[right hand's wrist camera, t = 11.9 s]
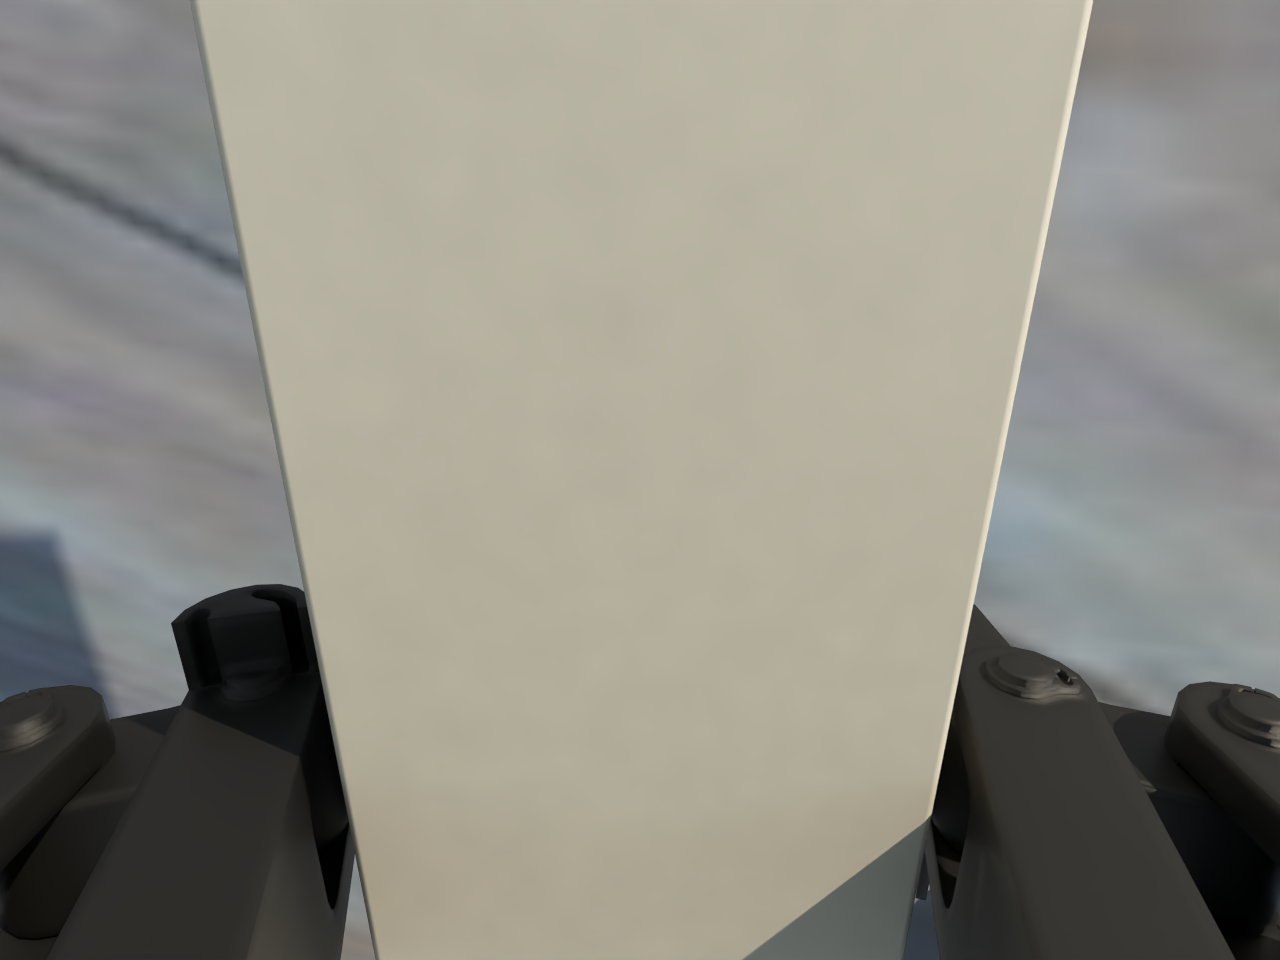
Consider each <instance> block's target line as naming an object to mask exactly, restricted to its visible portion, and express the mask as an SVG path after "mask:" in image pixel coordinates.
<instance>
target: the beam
mask: <svg viewBox="0 0 1280 960" xmlns="http://www.w3.org/2000/svg"><path fill="white" fill-rule="evenodd" d="M1092 4H1093V0H190V5H191V10H192V15H193V20H194V25H195V30H196V36H197V41H198V46H199V51H200V56H201V61H202V66H203V72H204V77H205V82H206V87H207V92H208V97H209V103H210V108H211V113H212V118H213V123H214V128H215V134H216V139H217V144H218V149H219V154H220V159H221V164H222V170H223V175H224V180H225V185H226V190H227V195H228V201H229V206H230V211H231V216H232V221H233V226H234V231H235V237H236V242H237V247H238V252H239V257H240V262H241V268H242V273H243V278H244V283H245V288H246V293H247V299H248V304H249V309H250V314H251V319H252V324H253V329H254V335H255V340H256V345H257V350H258V355H259V360H260V366H261V371H262V376H263V381H264V386H265V391H266V396H267V402H268V407H269V412H270V417H271V422H272V427H273V433H274V438H275V443H276V448H277V453H278V458H279V463H280V469H281V474H282V479H283V484H284V489H285V494H286V500H287V505H288V510H289V515H290V520H291V525H292V531H293V536H294V541H295V546H296V551H297V556H298V561H299V567H300V572H301V577H302V582H303V587H304V592H305V598H306V603H307V608H308V613H309V618H310V623H311V628H312V634H313V639H314V644H315V649H316V654H317V659H318V665H319V670H320V675H321V680H322V685H323V690H324V695H325V701H326V706H327V711H328V716H329V721H330V726H331V732H332V737H333V742H334V747H335V752H336V757H337V763H338V768H339V773H340V778H341V783H342V788H343V793H344V799H345V804H346V809H347V814H348V819H349V824H350V830H351V835H352V840H353V845H354V850H355V855H356V860H357V866H358V871H359V876H360V881H361V886H362V891H363V897H364V902H365V907H366V912H367V917H368V922H369V928H370V933H371V938H372V943H373V948H374V953H375V958H376V960H903V956H904V951H905V946H906V941H907V936H908V931H909V926H910V920H911V915H912V910H913V905H914V900H915V895H916V890H917V885H918V880H919V875H920V870H921V865H922V860H923V855H924V850H925V845H926V840H927V835H928V830H929V825H930V820H931V815H932V810H933V805H934V800H935V795H936V790H937V784H938V779H939V774H940V769H941V764H942V759H943V754H944V749H945V744H946V739H947V734H948V729H949V724H950V719H951V714H952V709H953V704H954V699H955V694H956V689H957V684H958V679H959V674H960V669H961V664H962V659H963V654H964V648H965V643H966V638H967V633H968V628H969V623H970V618H971V613H972V608H973V603H974V598H975V593H976V588H977V583H978V578H979V573H980V568H981V563H982V558H983V553H984V548H985V543H986V538H987V533H988V528H989V523H990V518H991V512H992V507H993V502H994V497H995V492H996V487H997V482H998V477H999V472H1000V467H1001V462H1002V457H1003V452H1004V447H1005V442H1006V437H1007V432H1008V427H1009V422H1010V417H1011V412H1012V407H1013V402H1014V397H1015V392H1016V387H1017V382H1018V376H1019V371H1020V366H1021V361H1022V356H1023V351H1024V346H1025V341H1026V336H1027V331H1028V326H1029V321H1030V316H1031V311H1032V306H1033V301H1034V296H1035V291H1036V286H1037V281H1038V276H1039V271H1040V266H1041V261H1042V256H1043V251H1044V246H1045V240H1046V235H1047V230H1048V225H1049V220H1050V215H1051V210H1052V205H1053V200H1054V195H1055V190H1056V185H1057V180H1058V175H1059V170H1060V165H1061V160H1062V155H1063V150H1064V145H1065V140H1066V135H1067V130H1068V125H1069V120H1070V115H1071V110H1072V104H1073V99H1074V94H1075V89H1076V84H1077V79H1078V74H1079V69H1080V64H1081V59H1082V54H1083V49H1084V44H1085V39H1086V34H1087V29H1088V24H1089V19H1090V14H1091V9H1092Z"/></svg>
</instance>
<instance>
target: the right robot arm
mask: <svg viewBox="0 0 1280 960" xmlns="http://www.w3.org/2000/svg"><path fill="white" fill-rule="evenodd" d="M171 625H172V628H173V632H174V636H175V640H176V643H177V647H178V651H179V655H180V658H181V662H182V666H183V669H184V673H185V677H186V681H187V684H188V688H189V691H188V693H187V695H186V697H185V699H184V701H183V702H182V704H181V705H180V706H176V707H172V708H168V709H163V710H158V711H153V712H147V713H142V714H137V715H132V716H127V717H122V718H116V719H111V720H110V719H109V716H108V713H107V710H106V707H105V704H104V701H103V697H102V696H101V695H100V694H99V693H97V692H96V691H95V690H93V689H92V688H89V687H81V686H74V685H68V686H59V687H50V688H40V689H35V690H30V691H29V693H26V692H23V693H20V694H17V695H14V696H11V697H8V698H6V699H5V700H4V701H2V702H0V960H340V958H341V951H342V944H343V937H344V929H345V922H346V915H347V907H348V900H349V893H350V885H351V878H352V871H353V864H354V856H355V850H354V845H353V840H352V835H351V830H350V824H349V819H348V814H347V809H346V804H345V799H344V793H343V788H342V783H341V778H340V773H339V768H338V763H337V757H336V752H335V747H334V742H333V737H332V732H331V726H330V721H329V716H328V711H327V706H326V701H325V695H324V690H323V685H322V680H321V675H320V670H319V665H318V659H317V654H316V649H315V644H314V639H313V634H312V628H311V623H310V618H309V613H308V608H307V603H306V598H305V592H303V591H302V590H300V589H299V588H296V587H291V586H287V585H282V584H269V585H253V586H248V587H243V588H238V589H232V590H229V591H226V592H223V593H220V594H217V595H214V596H212V597H209V598H206V599H204V600H202V601H200V602H199V603H197V604H195V605H193V606H191V607H189V608H188V609H186V610H184V611H183V612H182V613H181V614H180V615H179V616H178V617H177V618H176V619H175V620H174V621H173V622H172V623H171ZM929 884H930V891H931V898H932V906H933V913H934V920H935V928H936V935H937V942H938V949H939V957H940V960H1280V698H1278V697H1277V696H1275V695H1274V694H1271V693H1269V692H1266V691H1263V690H1259V689H1256V688H1255V690H1254V689H1252V688H1251V687H1248V686H1244V685H1239V684H1226V683H1217V682H1203V683H1195V684H1189V685H1188V686H1186V687H1185V688H1184V689H1182V690H1181V691H1180V692H1178V695H1177V698H1176V701H1175V704H1174V708H1173V711H1172V714H1171V716H1165V715H1160V714H1155V713H1150V712H1145V711H1139V710H1134V709H1129V708H1124V707H1119V706H1113V705H1109V704H1105V703H1101V702H1098V701H1097V699H1096V697H1095V695H1094V694H1093V692H1092V690H1091V688H1090V687H1089V686H1088V685H1087V684H1086V683H1085V681H1084V680H1083V679H1082V678H1081V677H1080V676H1079V675H1078V674H1077V673H1075V672H1074V671H1072V670H1071V669H1069V668H1068V667H1066V666H1065V665H1063V664H1062V663H1060V662H1059V661H1056V660H1054V659H1051V658H1049V657H1046V656H1044V655H1042V654H1039V653H1037V652H1034V651H1029V650H1025V649H1020V648H1016V647H1011V646H1010V645H1009V644H1008V643H1007V642H1006V640H1005V639H1004V638H1003V637H1002V636H1001V635H1000V633H999V632H998V631H997V630H996V629H995V628H994V626H993V625H992V624H991V623H990V622H989V621H988V619H987V618H986V617H985V616H984V615H983V614H982V612H981V611H980V610H979V609H978V608H977V607H976V605H973V608H972V613H971V618H970V623H969V628H968V633H967V638H966V643H965V648H964V654H963V659H962V664H961V669H960V674H959V679H958V684H957V689H956V694H955V699H954V704H953V709H952V714H951V719H950V724H949V729H948V734H947V739H946V744H945V749H944V754H943V759H942V764H941V769H940V774H939V779H938V784H937V790H936V795H935V800H934V805H933V810H932V815H931V820H930V825H929V830H928V835H927V840H926V845H925V850H924V855H923V860H922V865H921V870H920V875H919V880H918V885H917V892H916V898H918V899H923V900H926V896H927V891H928V886H929Z"/></svg>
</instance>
